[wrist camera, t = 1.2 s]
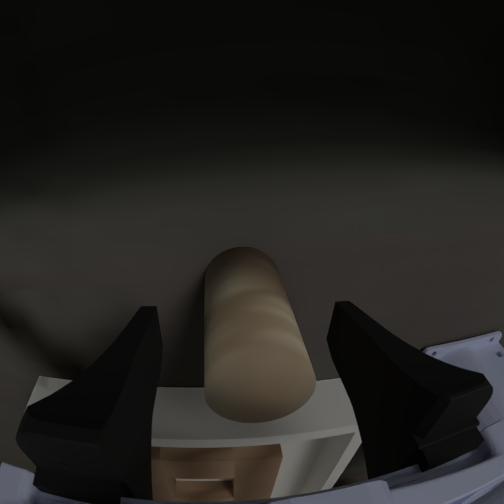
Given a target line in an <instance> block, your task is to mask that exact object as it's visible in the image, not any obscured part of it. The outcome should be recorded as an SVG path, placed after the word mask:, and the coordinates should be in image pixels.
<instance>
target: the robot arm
mask: <svg viewBox="0 0 504 504" xmlns="http://www.w3.org/2000/svg"><path fill="white" fill-rule="evenodd" d="M501 336H502V333H501V332H500V331H496V332H492V333H489V334H485V335H481V336H477V337H473V338H469V339H464V340H460V341H456V342H451V343H446V344H442V345H437V346H432V347H428V348H426V349H424V350H423V351H422V352H421V351H420V350H418V349H416V348H414V347H413V346H411V345H409V344H407V343H406V342H404V341H403V340H401V339H400V338H398V337H397V336H395V335H394V334H392V333H391V332H389V331H388V330H387V329H385V328H384V327H383V326H381V325H380V324H379V323H377V322H376V321H375V320H373V319H372V318H371V317H369V316H368V315H367V314H366V313H364V312H363V311H362V310H361V309H359V308H358V307H357V306H355V305H354V304H353V303H351V302H350V301H340V302H335V306H334V310H333V315H332V319H331V323H330V327H329V331H328V335H327V342H328V346H329V350H330V353H331V357H332V360H333V362H334V365H335V367H336V369H337V372H338V374H339V376H340V379H341V381H342V383H343V385H344V388H345V390H346V392H347V395H348V397H349V399H350V402H351V405H352V407H353V411H354V414H355V418H356V421H357V425H358V429H359V433H360V437H361V441H362V446H363V451H364V456H365V461H366V467H367V474H368V480H365V481H361V482H357V483H353V484H349V485H345V486H340V487H336V488H331V489H326V490H321V491H316V492H310V493H305V494H298V495H292V496H285V497H277V498H268V499H258V500H246V501H228V502H172V501H155V500H153V493H152V471H151V439H152V418H153V410H154V404H155V398H156V392H157V387H158V381H159V376H160V370H161V360H162V339H161V333H160V326H159V319H158V312H157V306H142V307H140V308H139V310H138V311H137V313H136V314H135V315H134V317H133V318H132V319H131V321H130V322H129V323H128V325H127V326H126V327H125V329H124V330H123V331H122V332H121V334H120V335H119V336H118V337H117V339H116V340H115V341H114V342H113V343H112V344H111V345H110V347H109V348H108V349H107V350H106V351H105V352H104V353H103V354H102V355H101V356H100V357H99V358H98V359H97V360H96V361H95V362H94V363H93V364H92V365H91V366H90V367H89V368H88V369H86V370H85V371H84V372H83V373H81V374H80V375H79V376H77V377H76V378H75V379H74V380H72V381H71V382H70V383H68V384H67V385H65V386H64V387H62V388H61V389H59V390H57V391H56V392H54V393H52V394H51V395H49V396H47V397H45V398H43V399H41V400H39V401H37V402H35V403H33V404H31V405H29V406H27V408H26V410H25V412H24V415H23V417H22V420H21V423H20V426H19V429H18V432H17V435H16V441H17V444H18V445H19V447H20V448H21V450H22V451H23V452H24V453H25V454H26V455H27V456H28V457H29V459H30V460H31V461H32V462H33V463H34V464H35V465H36V466H37V468H36V472H35V474H34V473H33V472H31V471H29V470H27V469H24V468H21V467H18V466H15V465H11V464H8V463H6V462H2V463H1V467H0V504H504V348H503V347H502V346H501V345H500V344H499V340H500V338H501Z"/></svg>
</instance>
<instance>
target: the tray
mask: <svg viewBox="0 0 504 504" xmlns="http://www.w3.org/2000/svg"><path fill="white" fill-rule="evenodd" d="M71 381H72V380H66V379H58V378H51V377H44V376H39V378H38V380H37V382H36V385H35V387H34V389H33V392H32V394H31V397H30V399H29V402H28V404H27V406H29V405H31V404H33V403H35V402H37V401H39V400H41V399H43V398H45V397H47V396H49V395H51V394H52V393H54V392H56V391H57V390H59V389H61V388H62V387H64V386H65V385H67V384H68V383H70V382H71ZM26 408H27V407H26ZM25 410H26V409H25ZM23 415H24V414H23ZM361 443H362V441H361V437H360V433H359V429H358V425H357V421H356V418H355V414H354V411H353V407H352V405H351V402H350V399H349V397H348V395H347V392H346V390H345V388H344V385H343V383H342V381H341V379H340V378H336V379H328V380H319V381H316V387H315V390H314V393H313V395H312V396H311V398H310V399H309V400H308V401H307V402H306V403H305V404H304V405H303V406H302V407H301V408H299V409H298V410H296V411H295V412H293V413H291V414H289V415H287V416H285V417H282V418H279V419H276V420H272V421H268V422H261V423H243V422H236V421H232V420H229V419H226V418H224V417H221V416H220V415H218V414H216V413H215V412H214V411H213V410H212V409H211V408H210V407H209V406H208V404H207V402H206V400H205V389H204V388H182V387H157V392H156V398H155V404H154V410H153V418H152V439H151V446H155V447H179V448H219V447H243V446H258V445H270V444H280V445H281V450H282V455H283V458H282V462H281V465H280V468H279V472H278V475H277V478H276V481H275V484H274V488H273V491H272V494H271V497H270V498H277V497H285V496H292V495H298V494H305V493H310V492H316V491H321V490H326V489H331V488H332V487H333V485H334V484H335V482H336V481H337V480H338V478H339V477H340V475H341V474H342V472H343V471H344V469H345V468H346V466H347V465H348V463H349V462H350V460H351V459H352V457H353V456H354V454H355V452H356V451H357V449H358V448H359V446H360V444H361ZM226 480H232V478H228V479H176V481H226Z"/></svg>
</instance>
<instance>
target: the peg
mask: <svg viewBox="0 0 504 504" xmlns="http://www.w3.org/2000/svg"><path fill="white" fill-rule="evenodd" d="M315 387H316V377H315V374H314V371H313V368H312V365H311V362H310V360H309V357H308V354H307V351H306V348H305V345H304V342H303V340H302V337H301V334H300V331H299V328H298V326H297V323H296V320H295V317H294V314H293V311H292V309H291V306H290V303H289V300H288V298H287V295H286V292H285V289H284V286H283V284H282V281H281V278H280V275H279V273H278V270H277V267H276V265H275V263H274V262H273V260H272V259H271V258H270V257H269V256H268V255H267V254H266V253H264V252H262V251H260V250H258V249H255V248H251V247H236V248H232V249H228V250H226V251H224V252H222V253H220V254H219V255H218V256H216V257H215V258H214V259H213V260H212V262H211V263H210V264H209V266H208V268H207V270H206V274H205V297H204V389H205V400H206V402H207V404H208V406H209V407H210V408H211V409H212V410H213V411H214V412H215V413H216V414H218V415H220V416H221V417H224V418H226V419H229V420H232V421H236V422H243V423H261V422H268V421H272V420H276V419H279V418H282V417H285V416H287V415H289V414H291V413H293V412H295V411H296V410H298V409H299V408H301V407H302V406H303V405H304V404H305V403H306V402H307V401H308V400H309V399H310V398H311V396H312V395H313V393H314V390H315Z"/></svg>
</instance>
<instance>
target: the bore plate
mask: <svg viewBox="0 0 504 504" xmlns="http://www.w3.org/2000/svg"><path fill="white" fill-rule="evenodd" d="M282 458H283V455H282V450H281V445H280V444H270V445H258V446H243V447H219V448H179V447H155V446H151V471H152V493H153V500H155V501H172V502H228V501H246V500H258V499H268V498H270V497H271V494H272V491H273V488H274V484H275V481H276V478H277V475H278V472H279V468H280V465H281V462H282ZM228 478H232V480H226V481H176V479H228Z"/></svg>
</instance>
